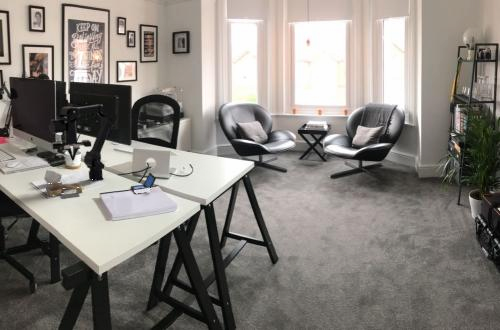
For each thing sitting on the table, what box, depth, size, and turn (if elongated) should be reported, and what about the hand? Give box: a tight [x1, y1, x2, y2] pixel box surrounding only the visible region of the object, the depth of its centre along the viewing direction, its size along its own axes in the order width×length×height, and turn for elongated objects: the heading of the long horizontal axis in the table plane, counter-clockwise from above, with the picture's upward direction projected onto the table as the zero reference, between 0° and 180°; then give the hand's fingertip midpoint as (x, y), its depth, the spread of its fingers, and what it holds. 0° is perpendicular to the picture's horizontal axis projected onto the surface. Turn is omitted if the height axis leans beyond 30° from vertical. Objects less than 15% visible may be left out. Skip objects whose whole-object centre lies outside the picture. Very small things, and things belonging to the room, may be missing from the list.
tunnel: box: [45, 182, 83, 198], centre depth 216 cm, size 16×11×3 cm
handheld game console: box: [130, 172, 157, 190], centre depth 221 cm, size 12×11×7 cm
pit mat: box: [60, 192, 80, 199], centre depth 210 cm, size 8×6×1 cm
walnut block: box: [48, 181, 65, 194], centre depth 214 cm, size 6×6×4 cm
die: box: [43, 168, 63, 184], centre depth 230 cm, size 8×9×10 cm
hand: (73, 160), depth 227 cm, fingers closed
